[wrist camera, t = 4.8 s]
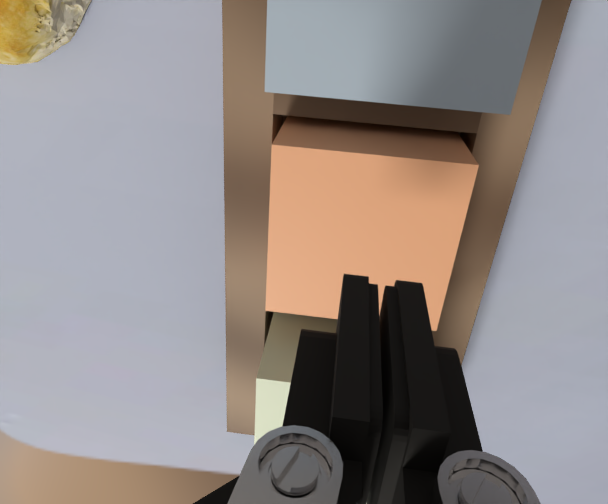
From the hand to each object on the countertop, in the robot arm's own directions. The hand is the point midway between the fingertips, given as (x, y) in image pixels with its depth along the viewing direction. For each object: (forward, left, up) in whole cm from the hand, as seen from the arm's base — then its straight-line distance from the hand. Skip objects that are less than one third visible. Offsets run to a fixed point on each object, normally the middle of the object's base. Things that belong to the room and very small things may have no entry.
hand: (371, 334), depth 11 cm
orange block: (0, 0, -8) cm, 8 cm away
